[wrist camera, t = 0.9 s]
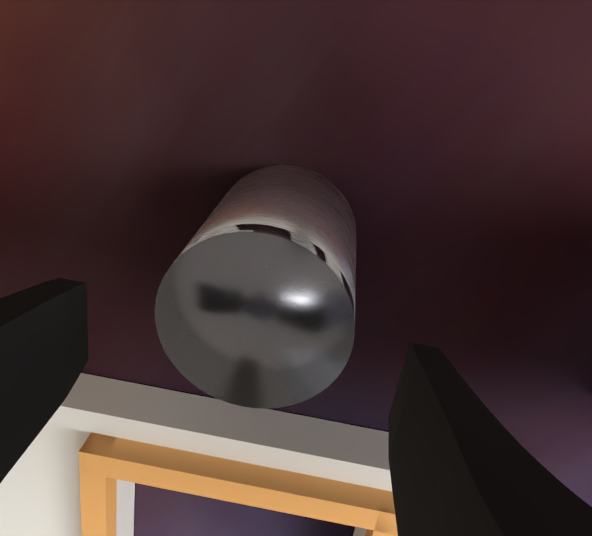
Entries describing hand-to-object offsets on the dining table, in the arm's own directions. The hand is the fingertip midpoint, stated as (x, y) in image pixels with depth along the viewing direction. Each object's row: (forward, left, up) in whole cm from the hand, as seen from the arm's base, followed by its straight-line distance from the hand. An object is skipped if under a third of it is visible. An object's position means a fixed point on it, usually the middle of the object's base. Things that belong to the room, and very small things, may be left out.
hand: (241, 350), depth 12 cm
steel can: (0, 0, -7) cm, 7 cm away
